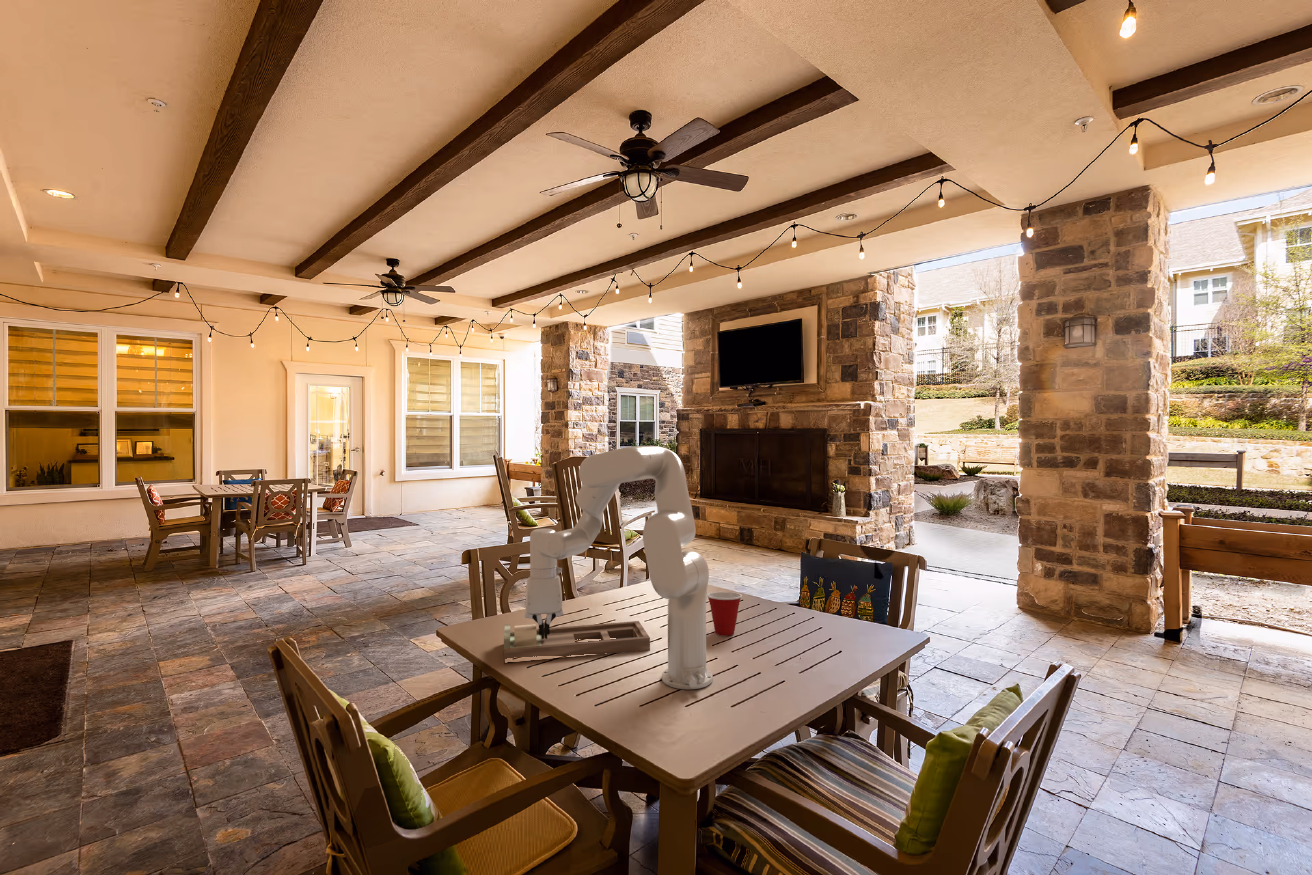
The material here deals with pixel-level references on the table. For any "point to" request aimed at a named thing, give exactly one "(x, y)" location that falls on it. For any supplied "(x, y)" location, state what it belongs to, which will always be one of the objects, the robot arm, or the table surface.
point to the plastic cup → (724, 611)
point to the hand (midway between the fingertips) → (544, 637)
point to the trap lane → (564, 644)
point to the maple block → (525, 635)
